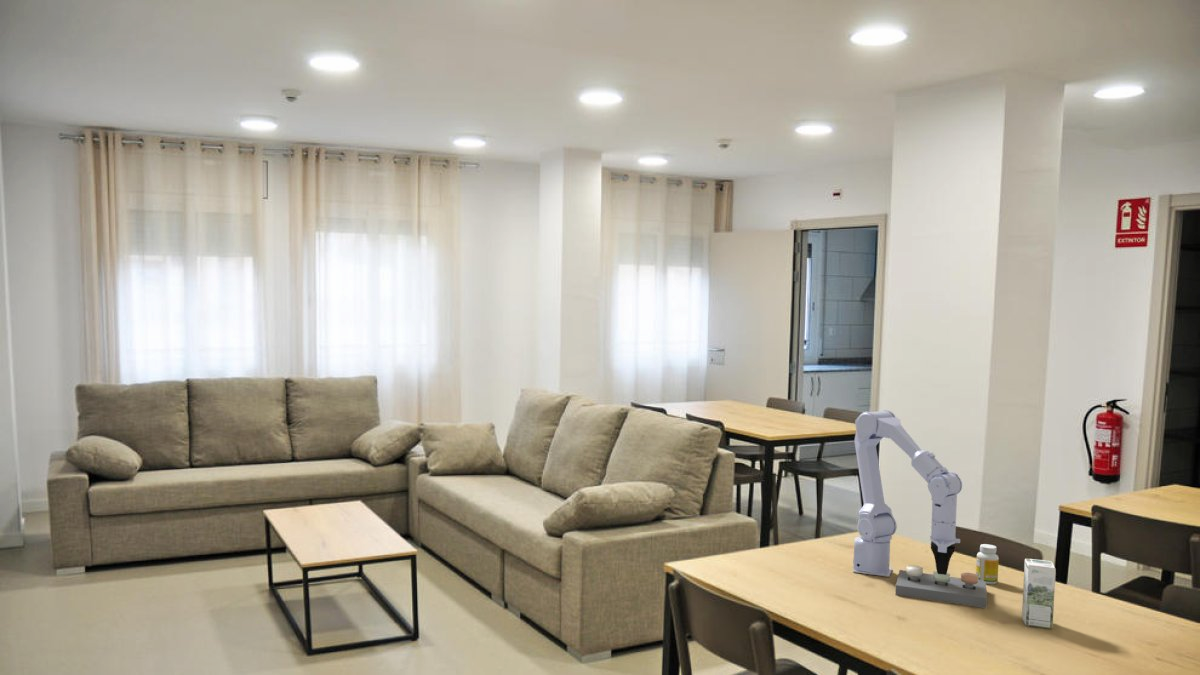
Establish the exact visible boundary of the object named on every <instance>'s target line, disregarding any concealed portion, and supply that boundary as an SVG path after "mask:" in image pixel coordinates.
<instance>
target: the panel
mask: <svg viewBox="0 0 1200 675" xmlns="http://www.w3.org/2000/svg"><path fill="white" fill-rule="evenodd" d="M899 595H900V597H907V598H913V599H920V600H921V599H922V600H927V601H934V602H940V601H942V602H941V603H947V602H949V603H948V604H954V603H957V604H956V605H961V604H963V605H962V606H968V607H973V608H976V607H977V608H982V609H987V608H988V592H987V584H986V582H985V581H978V583H977V584H974V585H973V589H966V588H965V583H964V582H962V581H961V577H953V576H950V581H949V582H946V584H945V586H944V585H937V581H936V580H934V579H933V573H925V572H923V575H922V576H918V582H915V581H910V575H908V574H906V570H902V569H899V571H898V575H897V579H896V583H895V596H899Z"/></svg>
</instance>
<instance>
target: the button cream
mask: <svg viewBox="0 0 1200 675" xmlns="http://www.w3.org/2000/svg"><path fill="white" fill-rule="evenodd" d="M905 568H906V570H905V571H906V574H908V575H910V581H915V582H918V576H922V575H923V573H924V568H923V567H921V566H919V565H912V564H911V565H909V564H908V565H907V566H906V567H905Z"/></svg>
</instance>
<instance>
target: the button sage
mask: <svg viewBox="0 0 1200 675" xmlns="http://www.w3.org/2000/svg"><path fill="white" fill-rule="evenodd" d="M932 574H933V579H934V580H936V581H937V585H944V586H945V584H946V582H949V581H950V577H951V573H949V572H947V574H946V575H944V574H938V573H937V570H934V571H933V572H932Z"/></svg>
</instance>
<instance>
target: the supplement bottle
mask: <svg viewBox="0 0 1200 675" xmlns="http://www.w3.org/2000/svg"><path fill="white" fill-rule="evenodd" d="M997 551H998V550H997V546H996V545H993V544H987V543H983V544H982V543H981V544H980V546H979V551H978V552H977V554H976V564H975V574H976V575H978V581H985V582H986V585H996V584H998V582H999V581H998V580H999V561H1000V560H999V559H1000V558H999V555H998V554H996V553H997Z"/></svg>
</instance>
